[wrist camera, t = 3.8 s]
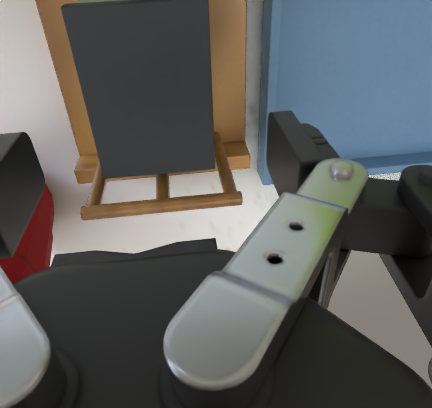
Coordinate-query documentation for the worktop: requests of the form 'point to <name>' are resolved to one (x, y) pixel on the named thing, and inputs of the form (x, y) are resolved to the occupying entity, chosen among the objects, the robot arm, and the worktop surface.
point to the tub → (145, 83)
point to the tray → (351, 77)
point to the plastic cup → (33, 243)
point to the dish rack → (222, 114)
